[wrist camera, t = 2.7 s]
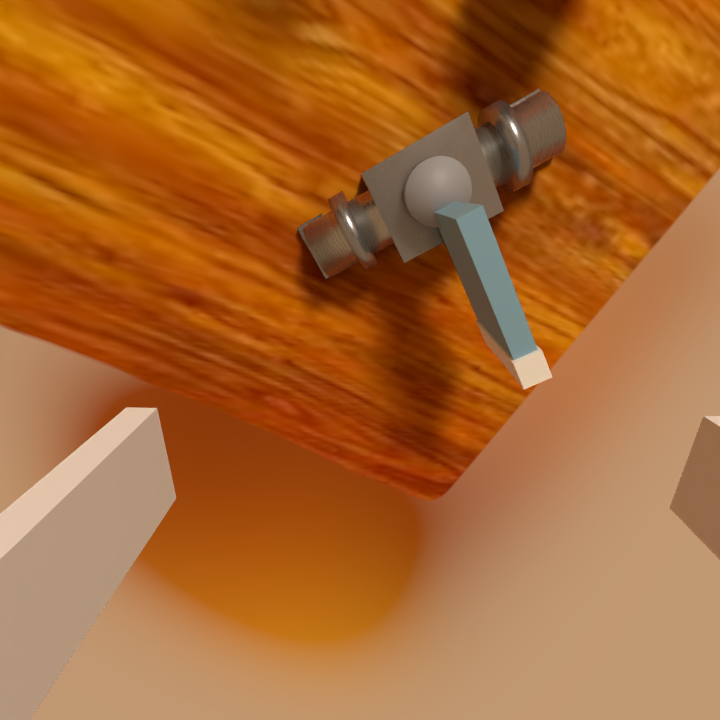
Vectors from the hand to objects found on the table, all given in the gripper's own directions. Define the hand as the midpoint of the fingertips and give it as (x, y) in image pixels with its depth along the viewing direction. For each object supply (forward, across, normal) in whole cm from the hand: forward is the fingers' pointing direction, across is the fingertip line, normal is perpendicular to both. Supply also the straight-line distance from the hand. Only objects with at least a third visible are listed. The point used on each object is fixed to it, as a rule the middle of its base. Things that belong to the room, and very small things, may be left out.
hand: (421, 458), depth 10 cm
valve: (+28, +3, +7) cm, 29 cm away
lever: (+22, +5, +2) cm, 23 cm away
